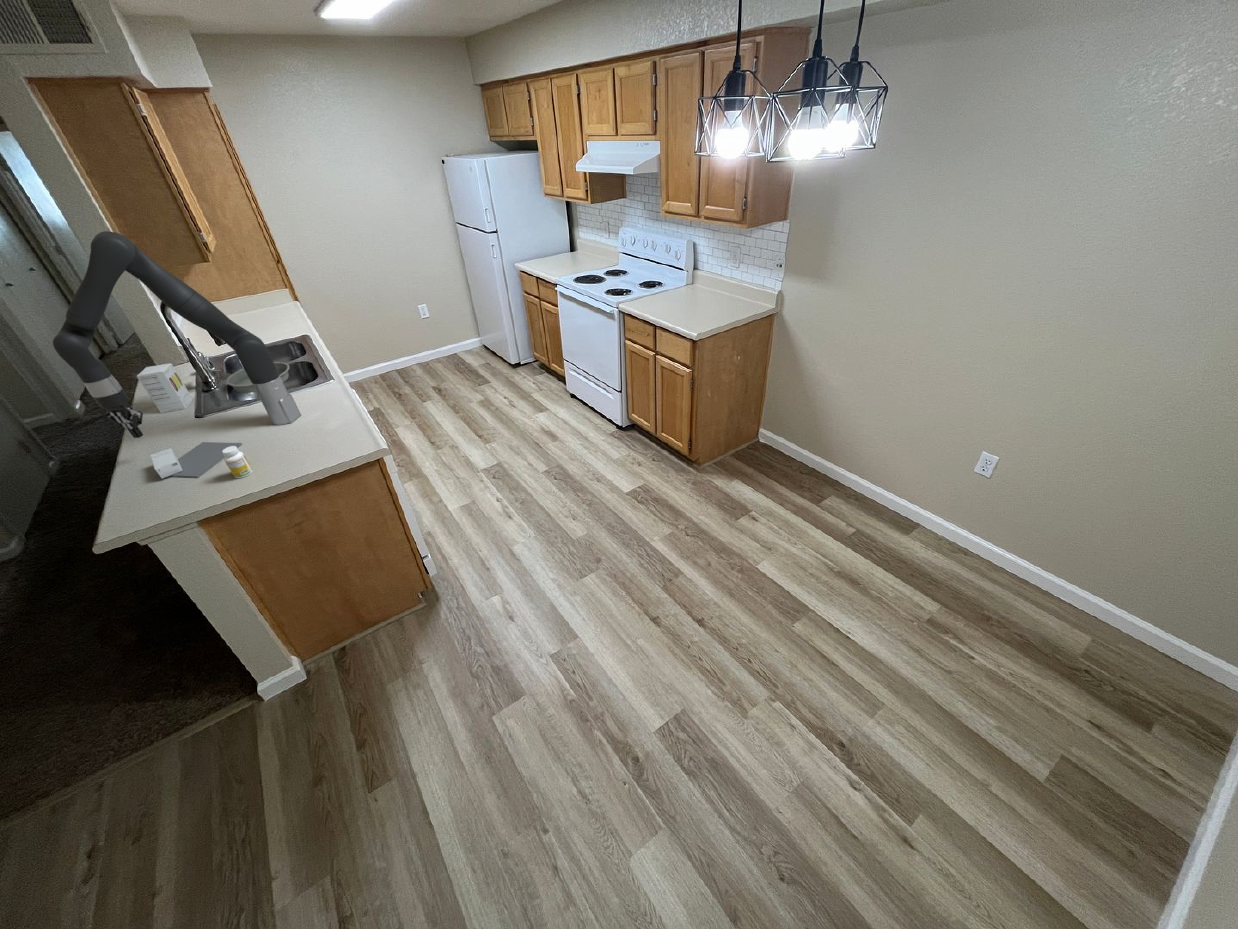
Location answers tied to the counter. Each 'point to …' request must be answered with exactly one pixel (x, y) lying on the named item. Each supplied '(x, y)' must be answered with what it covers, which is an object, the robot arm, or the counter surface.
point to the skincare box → (166, 463)
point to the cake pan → (243, 382)
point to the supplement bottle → (237, 462)
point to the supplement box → (165, 387)
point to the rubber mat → (201, 459)
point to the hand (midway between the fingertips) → (139, 436)
